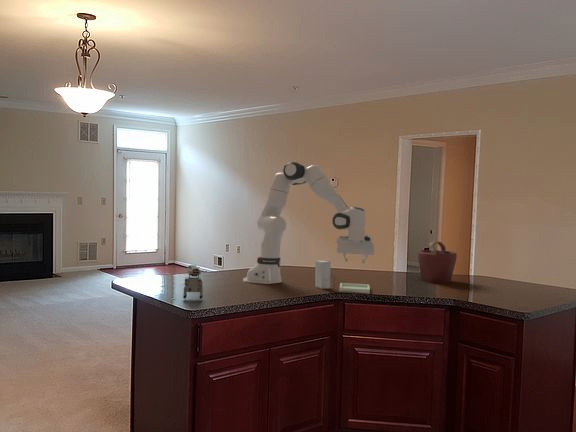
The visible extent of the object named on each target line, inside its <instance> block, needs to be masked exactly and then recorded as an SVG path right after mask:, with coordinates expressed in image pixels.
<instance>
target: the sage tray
mask: <svg viewBox="0 0 576 432" xmlns="http://www.w3.org/2000/svg"><path fill="white" fill-rule="evenodd" d="M338 290H339V293H349V294H350V293H351V294H352V293H354V294H368V295H369V294H371V288H370V284H368V283H367V284H365V283H347V282H346V283H345V282H340V283H339V289H338Z"/></svg>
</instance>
